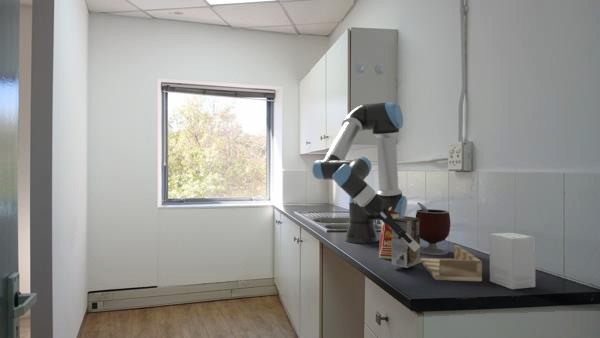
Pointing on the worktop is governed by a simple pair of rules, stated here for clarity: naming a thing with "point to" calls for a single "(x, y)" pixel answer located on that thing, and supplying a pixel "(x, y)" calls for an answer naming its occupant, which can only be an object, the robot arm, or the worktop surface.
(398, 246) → the coffee box
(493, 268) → the supplement box
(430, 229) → the mate gourd
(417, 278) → the worktop surface
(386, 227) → the milk carton
